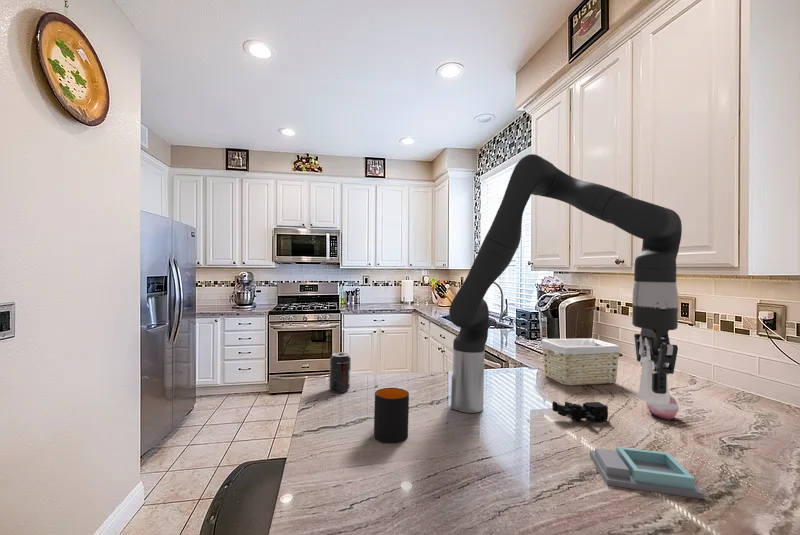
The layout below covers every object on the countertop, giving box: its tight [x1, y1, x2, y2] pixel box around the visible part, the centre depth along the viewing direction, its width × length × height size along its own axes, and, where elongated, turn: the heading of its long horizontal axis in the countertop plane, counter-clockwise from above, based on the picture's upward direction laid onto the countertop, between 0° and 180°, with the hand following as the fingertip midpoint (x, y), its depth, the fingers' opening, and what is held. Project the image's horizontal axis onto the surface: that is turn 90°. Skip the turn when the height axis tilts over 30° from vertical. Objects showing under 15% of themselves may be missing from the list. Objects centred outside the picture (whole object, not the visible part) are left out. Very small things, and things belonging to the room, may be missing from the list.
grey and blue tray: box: [589, 446, 705, 500], centre depth 74 cm, size 16×12×3 cm
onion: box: [646, 393, 679, 420], centre depth 105 cm, size 8×8×7 cm
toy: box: [552, 400, 609, 424], centre depth 101 cm, size 12×5×15 cm
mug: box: [373, 387, 410, 445], centre depth 90 cm, size 8×12×10 cm
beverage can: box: [328, 351, 352, 394], centre depth 121 cm, size 7×7×12 cm
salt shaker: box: [637, 347, 670, 405], centre depth 74 cm, size 5×5×11 cm
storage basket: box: [540, 338, 620, 386], centre depth 141 cm, size 24×16×15 cm
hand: (653, 388), depth 74 cm, fingers closed on salt shaker, 4 cm apart
